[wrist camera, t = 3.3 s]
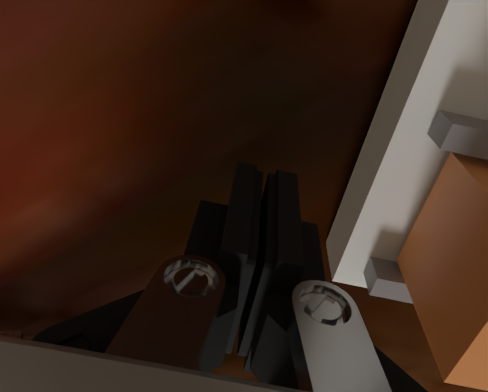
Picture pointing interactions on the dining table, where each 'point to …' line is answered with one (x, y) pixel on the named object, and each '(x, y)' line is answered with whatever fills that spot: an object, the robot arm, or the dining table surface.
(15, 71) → the dining table surface
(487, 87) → the control board
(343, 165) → the dining table surface
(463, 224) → the orange rectangular prism
